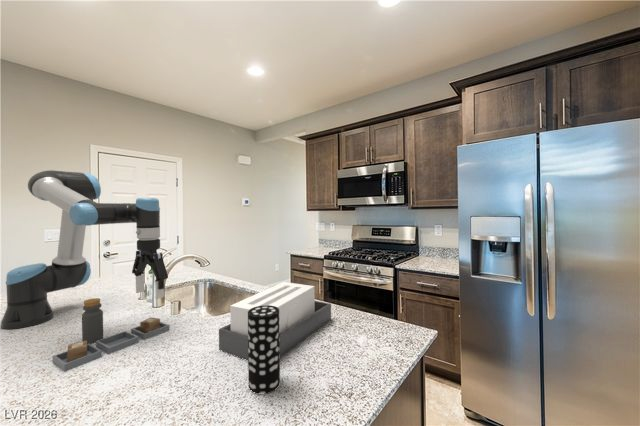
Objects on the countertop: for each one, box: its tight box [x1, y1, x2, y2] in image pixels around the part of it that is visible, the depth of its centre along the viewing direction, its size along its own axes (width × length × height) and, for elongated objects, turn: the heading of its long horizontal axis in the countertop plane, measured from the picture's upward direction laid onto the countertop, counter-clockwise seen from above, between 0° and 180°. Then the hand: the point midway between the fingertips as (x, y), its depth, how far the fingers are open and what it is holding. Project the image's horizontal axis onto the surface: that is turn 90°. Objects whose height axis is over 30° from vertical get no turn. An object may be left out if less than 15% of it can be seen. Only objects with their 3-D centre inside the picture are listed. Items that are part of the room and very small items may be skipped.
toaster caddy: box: [218, 300, 332, 361], centre depth 106 cm, size 21×40×7 cm, turn 149°
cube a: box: [139, 317, 161, 333], centre depth 106 cm, size 4×4×5 cm
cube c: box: [66, 341, 87, 362], centre depth 87 cm, size 4×4×5 cm
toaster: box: [229, 281, 316, 337], centre depth 105 cm, size 35×16×15 cm, turn 154°
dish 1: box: [52, 344, 103, 372], centre depth 87 cm, size 9×9×2 cm
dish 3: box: [130, 321, 170, 341], centre depth 106 cm, size 9×9×2 cm
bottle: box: [81, 297, 104, 345], centre depth 100 cm, size 6×6×15 cm
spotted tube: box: [247, 305, 281, 394], centre depth 75 cm, size 8×8×20 cm
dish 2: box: [95, 330, 140, 355], centre depth 97 cm, size 9×9×2 cm
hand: (149, 295), depth 106 cm, fingers open, 13 cm apart
